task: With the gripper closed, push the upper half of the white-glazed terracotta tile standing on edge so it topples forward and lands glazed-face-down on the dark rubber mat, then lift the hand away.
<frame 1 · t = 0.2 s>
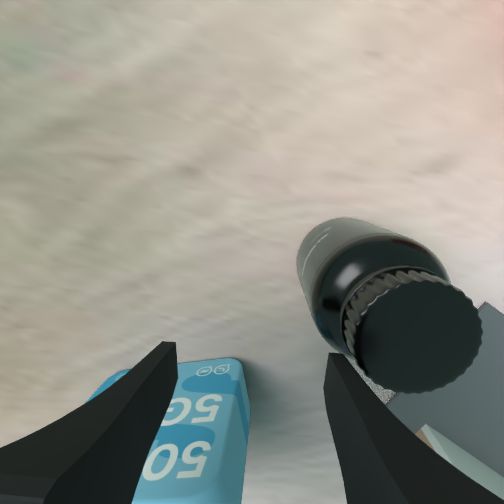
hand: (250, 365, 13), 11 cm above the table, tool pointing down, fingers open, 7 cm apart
tile: (456, 461, 25), resting on mat
supplement bottle: (338, 260, 23), on the table, touching gripper
mat: (480, 435, 24), on the table
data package: (183, 383, 26), on the table
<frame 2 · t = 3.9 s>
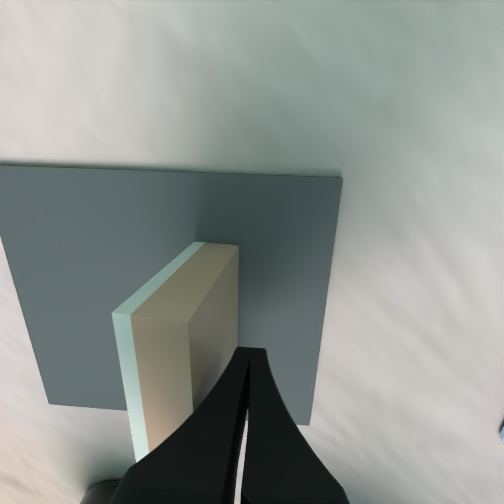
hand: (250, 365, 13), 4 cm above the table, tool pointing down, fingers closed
tile: (217, 317, 16), resting on mat, tilted 6°
supplement bottle: (127, 501, 24), on the table
mat: (168, 310, 17), on the table
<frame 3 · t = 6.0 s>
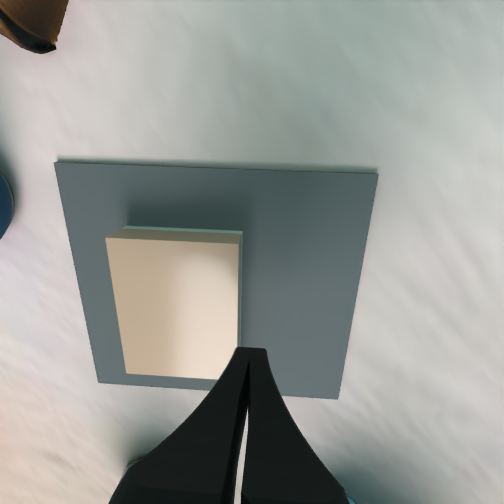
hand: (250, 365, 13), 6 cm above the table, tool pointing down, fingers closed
tile: (239, 307, 17), point 1 cm above the table, tilted 90°, touching mat
mat: (215, 294, 19), on the table
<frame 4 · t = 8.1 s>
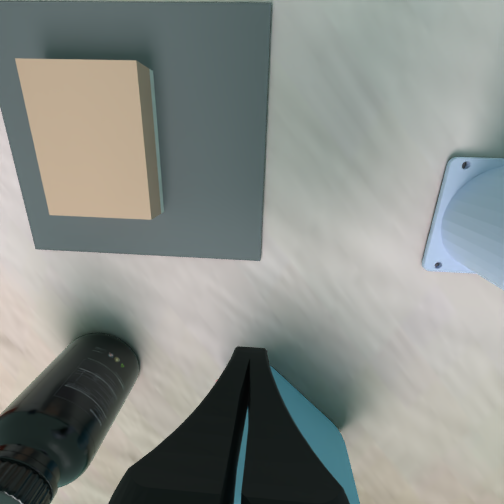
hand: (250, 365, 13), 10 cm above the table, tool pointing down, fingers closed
tile: (152, 147, 19), point 1 cm above the table, tilted 90°, touching mat
supplement bottle: (107, 358, 27), on the table
mat: (135, 146, 20), on the table
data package: (285, 404, 28), on the table
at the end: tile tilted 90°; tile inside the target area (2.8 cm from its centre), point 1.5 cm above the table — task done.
